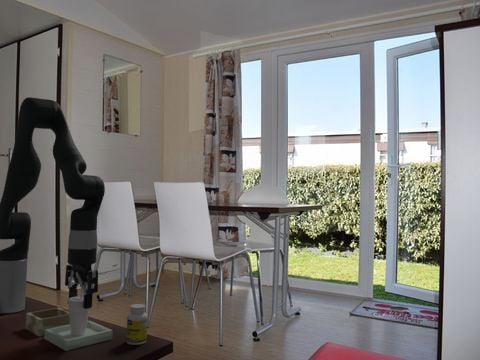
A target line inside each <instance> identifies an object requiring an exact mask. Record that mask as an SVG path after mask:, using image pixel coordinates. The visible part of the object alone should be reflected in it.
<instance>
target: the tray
mask: <svg viewBox="0 0 480 360" xmlns="http://www.w3.org/2000/svg"><path fill="white" fill-rule="evenodd" d="M113 330H114V329H110V328H108V327H105V326H104V325H101V324H99V323H97V322H94V321H92V320H87V326H86V332H85V335H82V336H71V331H70V324H69V325H65V326H60V327H55V328H50V329H45V335H43V336H44V340H46V341H48V342H49V343H51V344H53V345H55V346H56V347H59V348H60V349H62V350H64V351H66V352H68V351H70V350H75V349H79V348H83V347H87V346H91V345H94V344H98V343H103V342H106V341H110V340H113Z"/></svg>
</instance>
